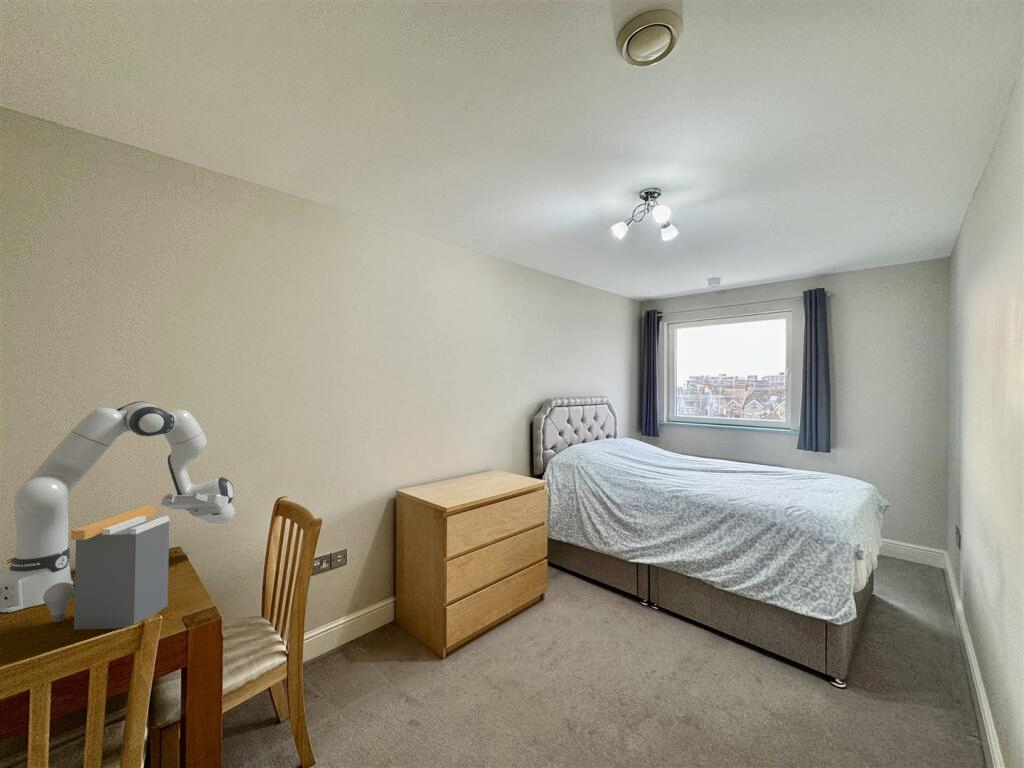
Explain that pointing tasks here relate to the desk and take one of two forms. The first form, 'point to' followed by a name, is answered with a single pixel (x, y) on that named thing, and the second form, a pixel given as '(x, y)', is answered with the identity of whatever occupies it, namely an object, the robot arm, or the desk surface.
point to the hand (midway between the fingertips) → (180, 495)
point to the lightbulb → (58, 599)
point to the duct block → (122, 574)
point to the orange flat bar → (110, 523)
